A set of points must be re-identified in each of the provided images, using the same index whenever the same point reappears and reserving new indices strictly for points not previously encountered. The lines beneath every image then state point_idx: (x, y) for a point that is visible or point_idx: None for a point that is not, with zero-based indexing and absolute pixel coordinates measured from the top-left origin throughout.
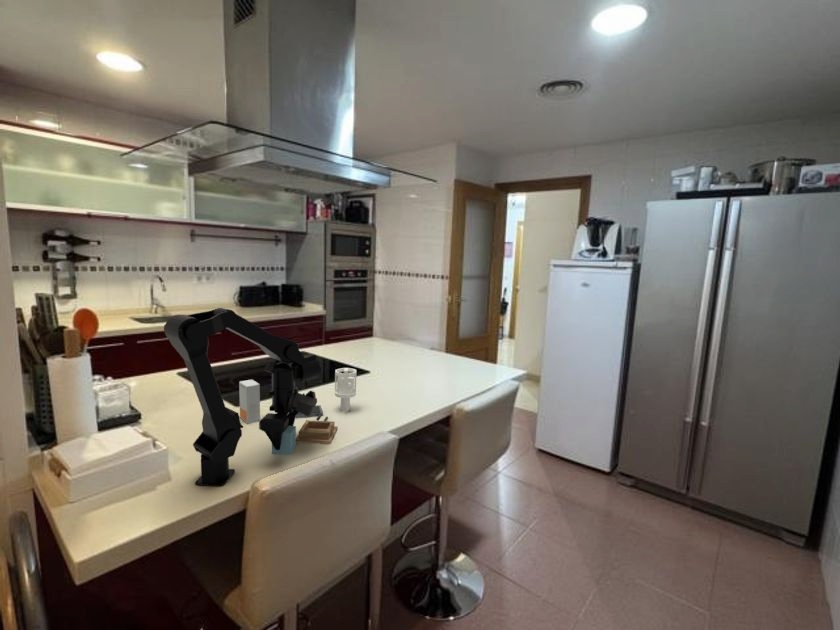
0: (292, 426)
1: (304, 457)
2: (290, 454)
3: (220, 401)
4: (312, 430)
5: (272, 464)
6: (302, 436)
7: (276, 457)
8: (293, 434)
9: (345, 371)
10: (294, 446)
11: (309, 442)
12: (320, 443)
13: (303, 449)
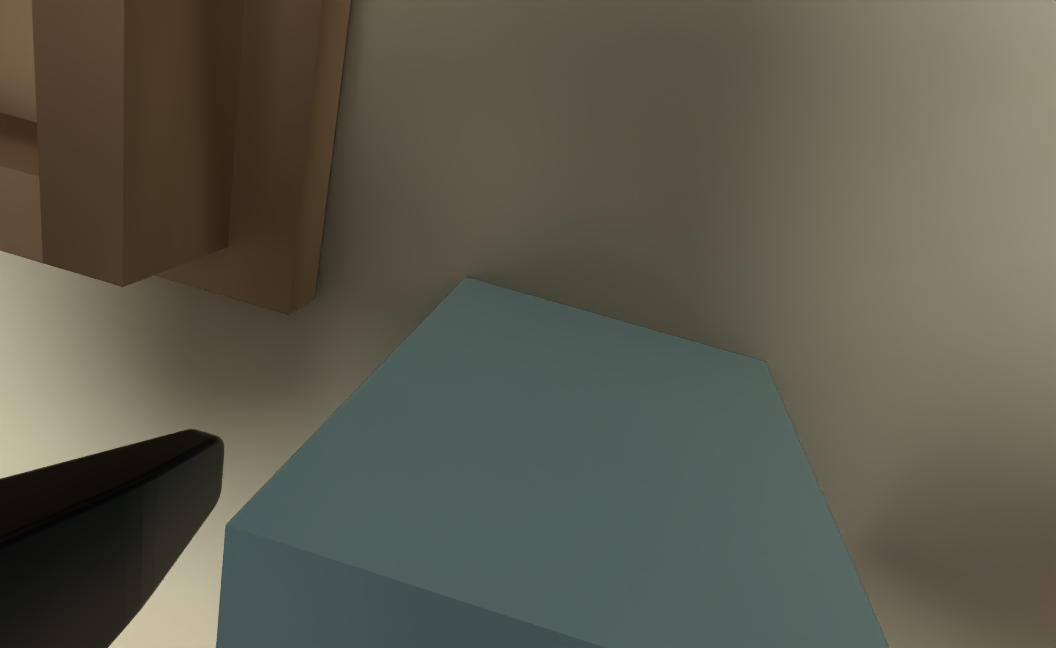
0: (262, 635)
1: (985, 96)
2: (767, 366)
3: None
4: None
5: (1044, 626)
6: (203, 172)
7: None
8: (575, 495)
9: None
10: (537, 313)
11: (342, 9)
12: None
13: (604, 130)
